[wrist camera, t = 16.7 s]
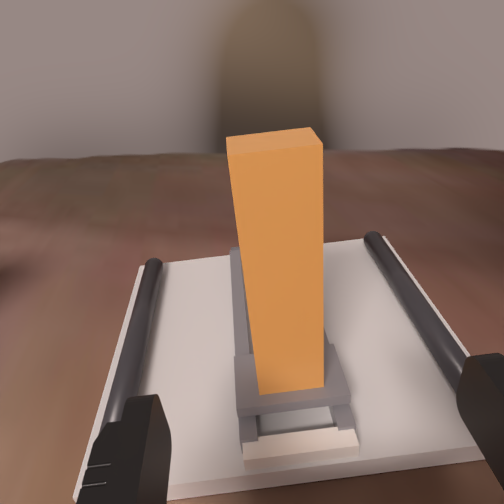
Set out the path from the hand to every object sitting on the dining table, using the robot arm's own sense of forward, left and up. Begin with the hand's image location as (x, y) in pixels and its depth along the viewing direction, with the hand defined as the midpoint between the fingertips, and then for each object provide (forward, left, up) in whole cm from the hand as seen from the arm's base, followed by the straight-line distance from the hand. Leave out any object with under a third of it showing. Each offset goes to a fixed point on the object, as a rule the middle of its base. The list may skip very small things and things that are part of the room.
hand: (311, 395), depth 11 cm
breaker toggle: (-2, -6, -7) cm, 10 cm away
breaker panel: (-4, -11, -10) cm, 15 cm away
